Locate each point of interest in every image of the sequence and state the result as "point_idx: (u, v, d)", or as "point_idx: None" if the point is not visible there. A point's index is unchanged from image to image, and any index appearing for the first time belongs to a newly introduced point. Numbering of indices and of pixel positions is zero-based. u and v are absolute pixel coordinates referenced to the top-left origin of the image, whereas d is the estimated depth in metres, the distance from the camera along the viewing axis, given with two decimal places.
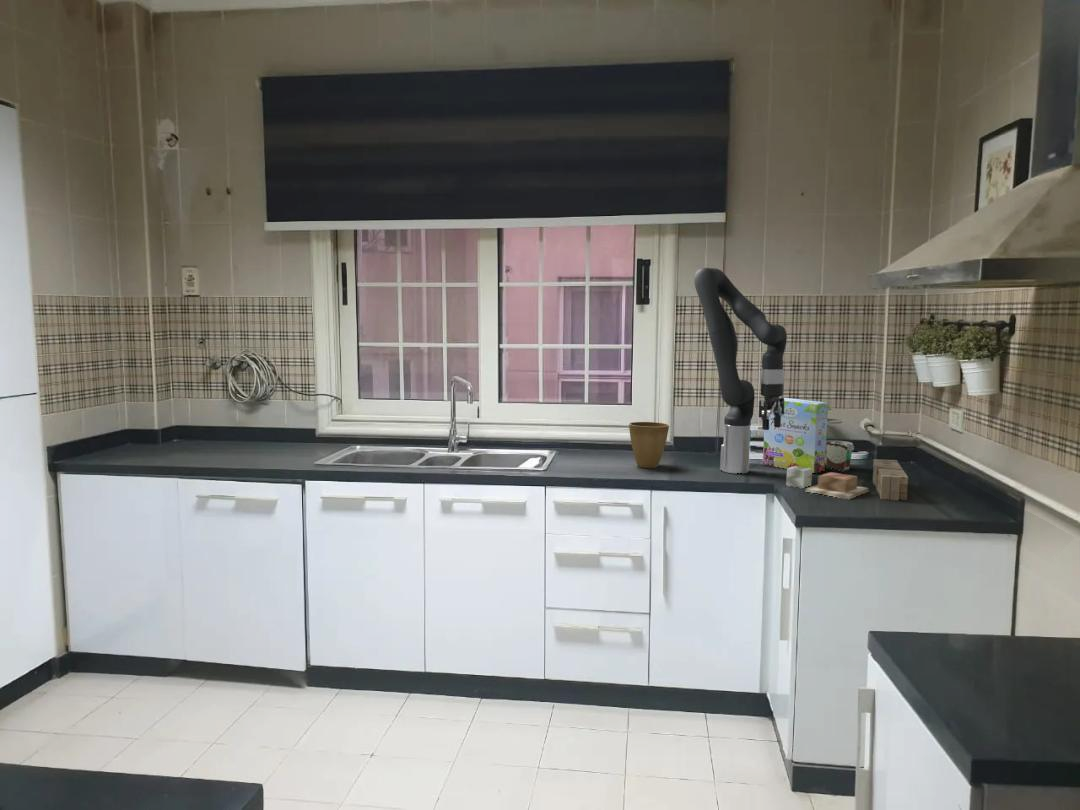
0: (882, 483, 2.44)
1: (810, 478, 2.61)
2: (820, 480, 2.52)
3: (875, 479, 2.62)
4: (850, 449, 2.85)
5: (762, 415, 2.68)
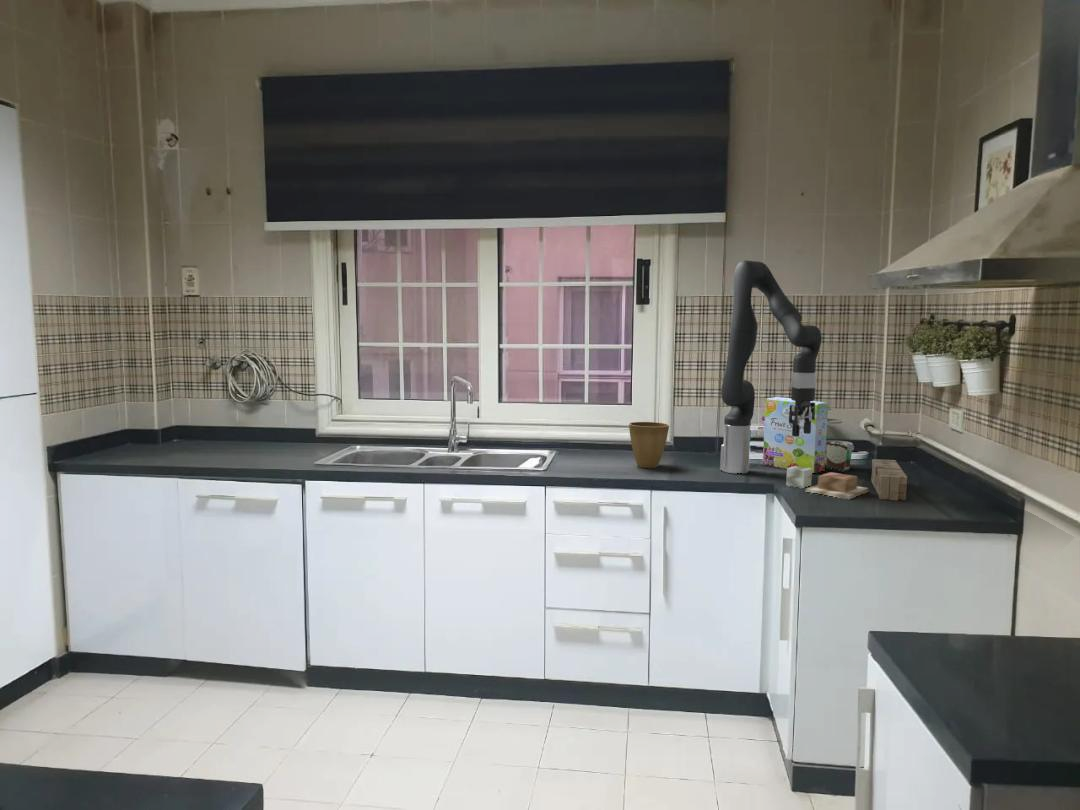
0: (881, 483, 2.44)
1: (810, 478, 2.61)
2: (820, 480, 2.52)
3: (874, 479, 2.62)
4: (850, 449, 2.85)
5: (792, 421, 2.54)
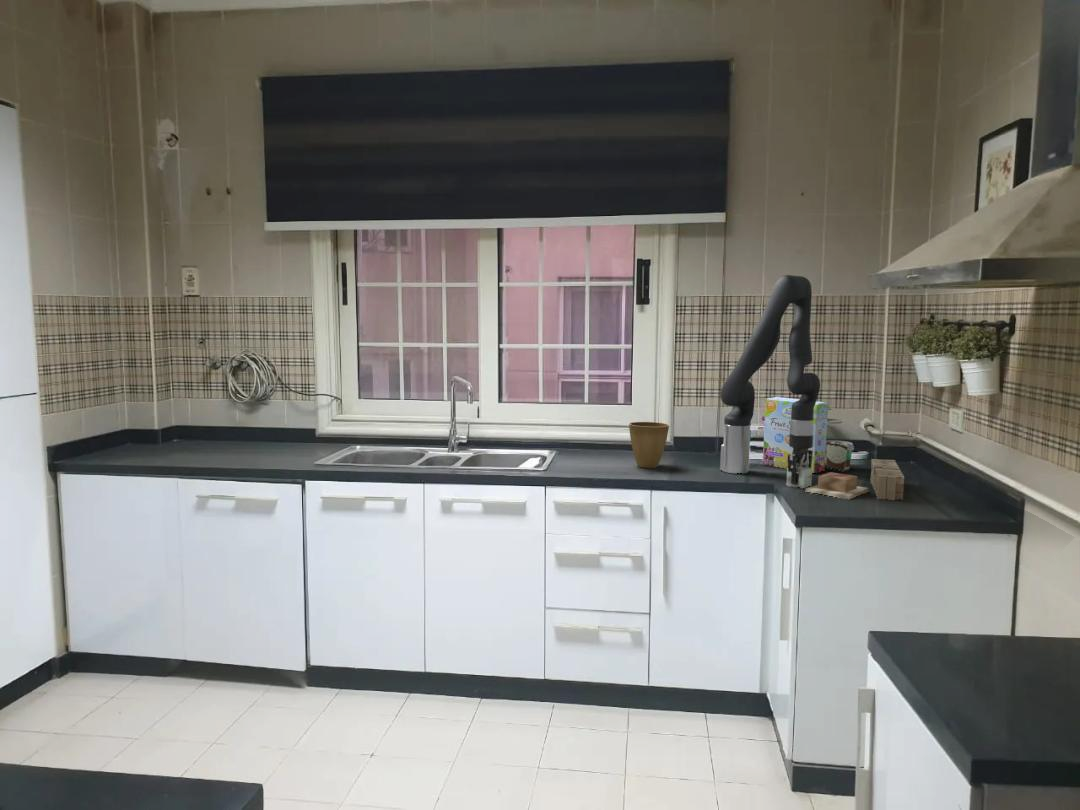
0: (878, 483, 2.44)
1: (810, 478, 2.61)
2: (820, 480, 2.52)
3: (872, 479, 2.63)
4: (850, 449, 2.85)
5: (792, 470, 2.57)
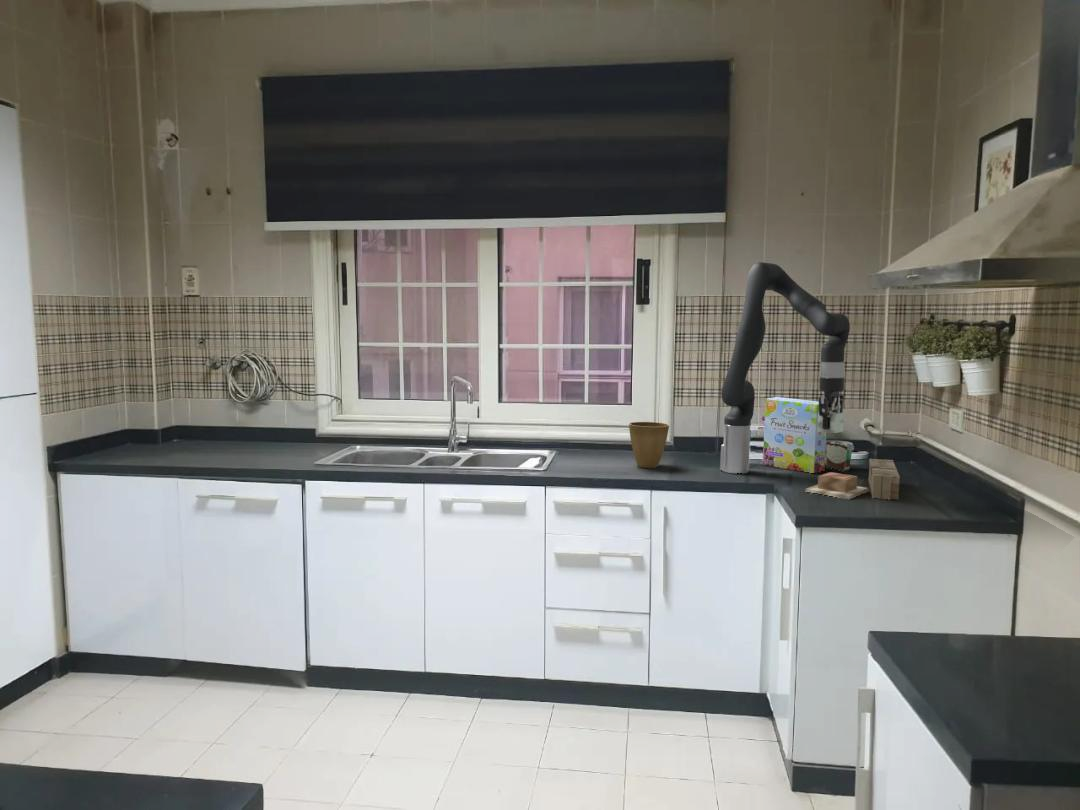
0: (873, 482, 2.44)
1: (842, 423, 2.52)
2: (820, 480, 2.52)
3: None
4: (850, 449, 2.85)
5: (823, 414, 2.48)
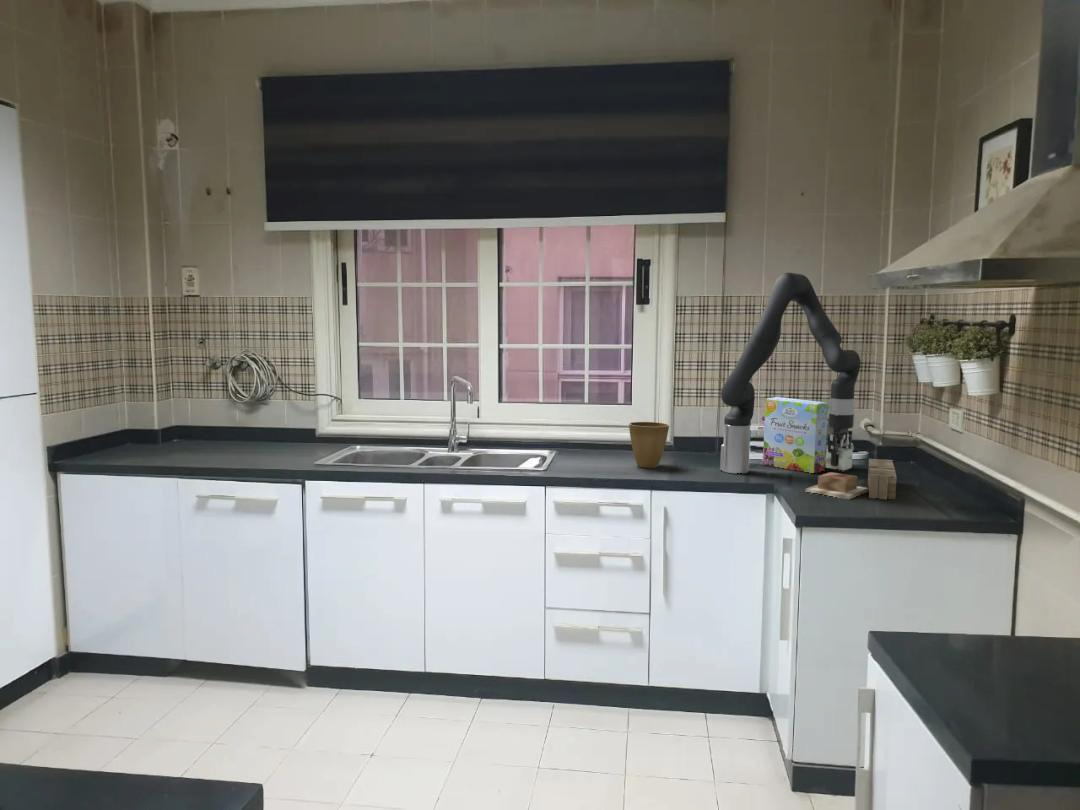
0: (870, 482, 2.45)
1: (851, 459, 2.52)
2: (820, 480, 2.52)
3: None
4: None
5: (832, 450, 2.47)
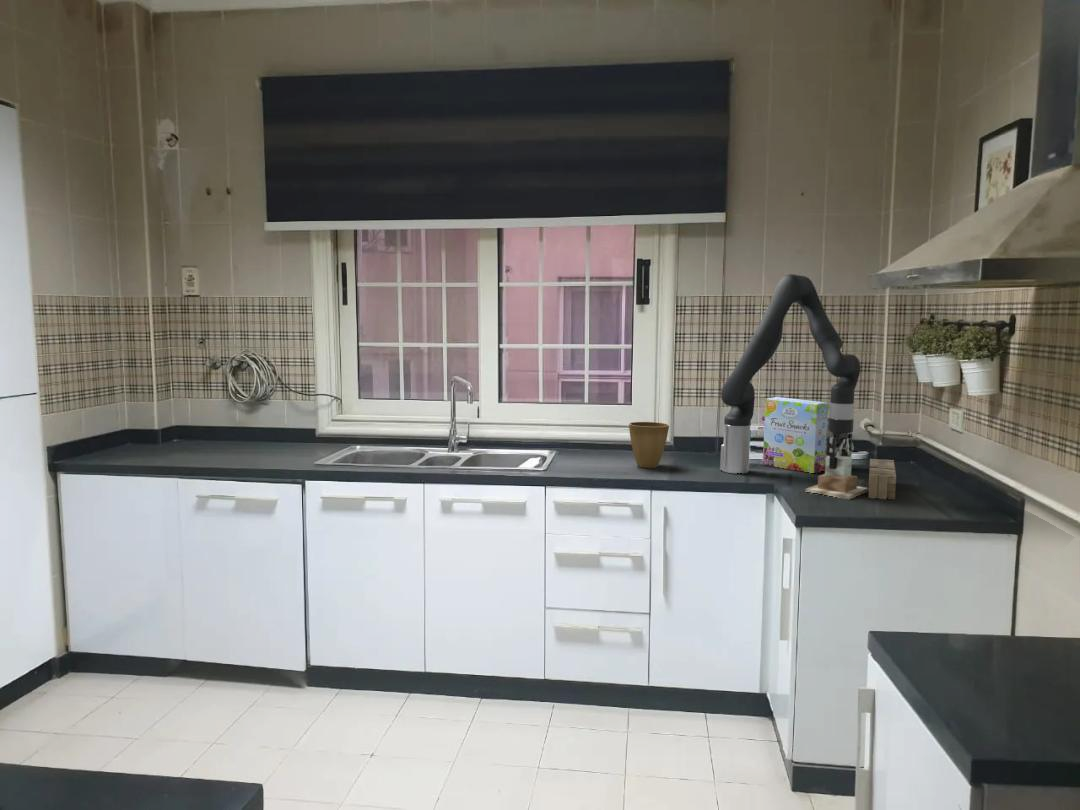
0: (870, 482, 2.45)
1: (850, 467, 2.52)
2: (820, 480, 2.52)
3: None
4: None
5: (830, 453, 2.47)
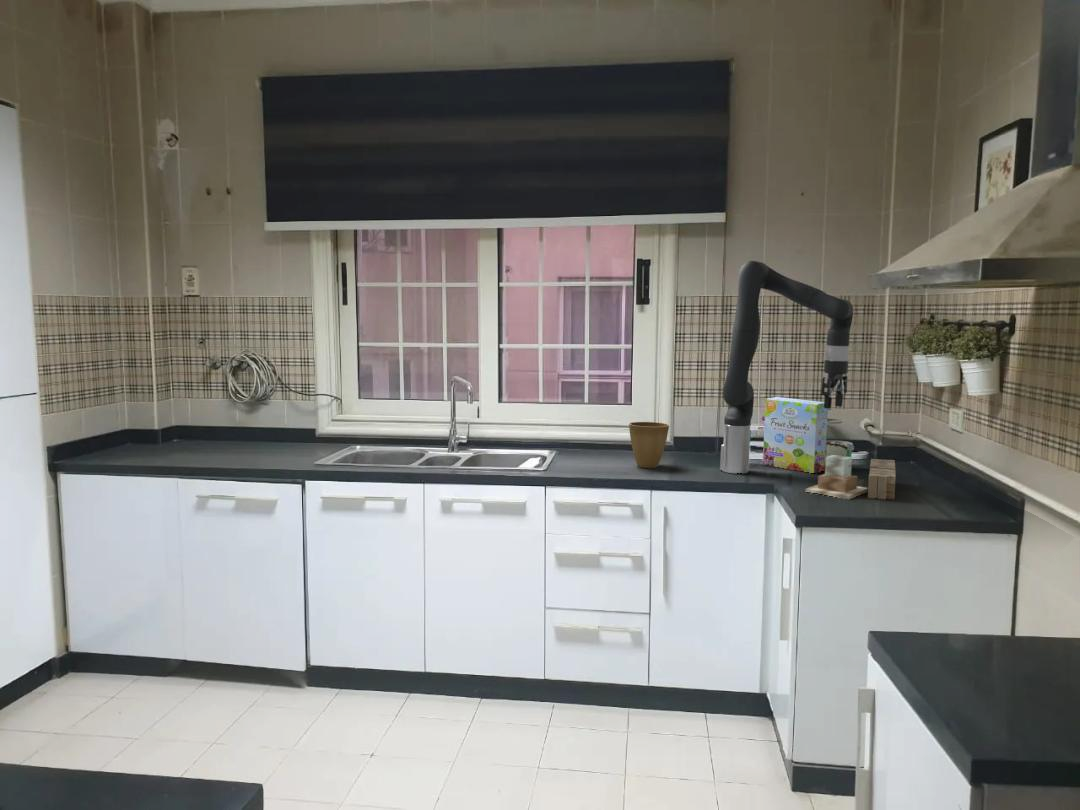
0: (869, 482, 2.45)
1: (850, 467, 2.52)
2: (820, 480, 2.52)
3: None
4: (850, 449, 2.85)
5: (825, 393, 2.59)
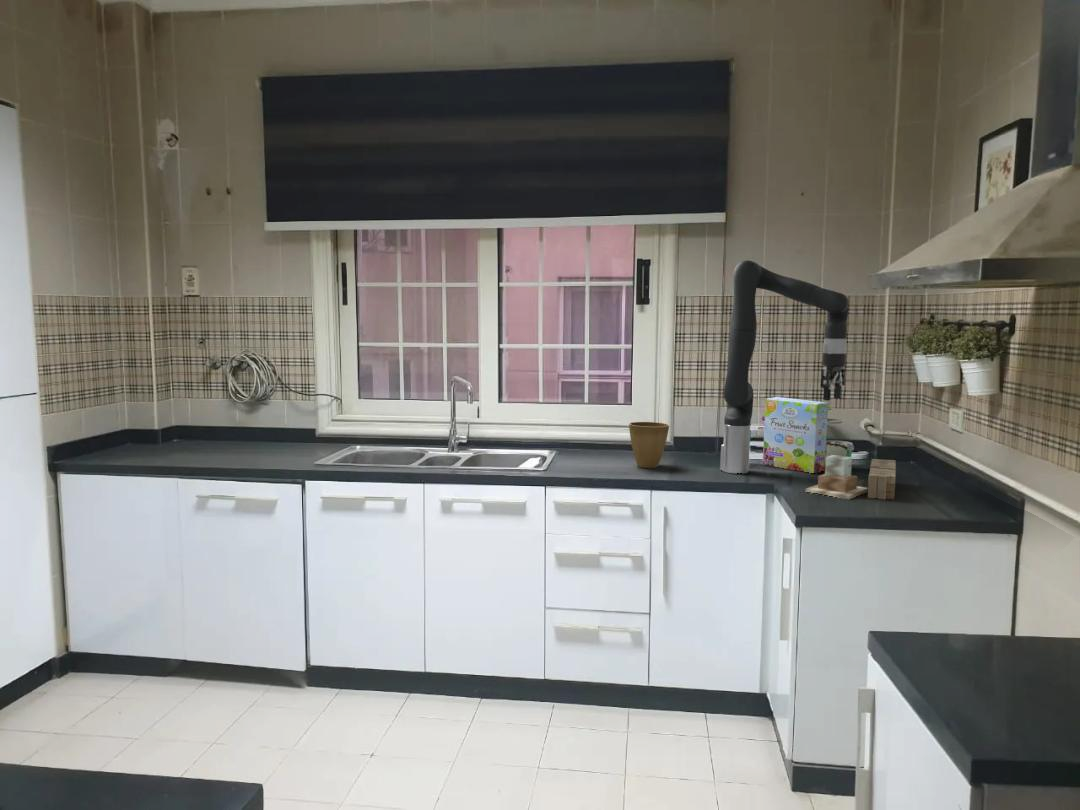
0: (869, 482, 2.45)
1: (850, 467, 2.52)
2: (820, 480, 2.52)
3: None
4: (850, 449, 2.85)
5: (824, 385, 2.63)
